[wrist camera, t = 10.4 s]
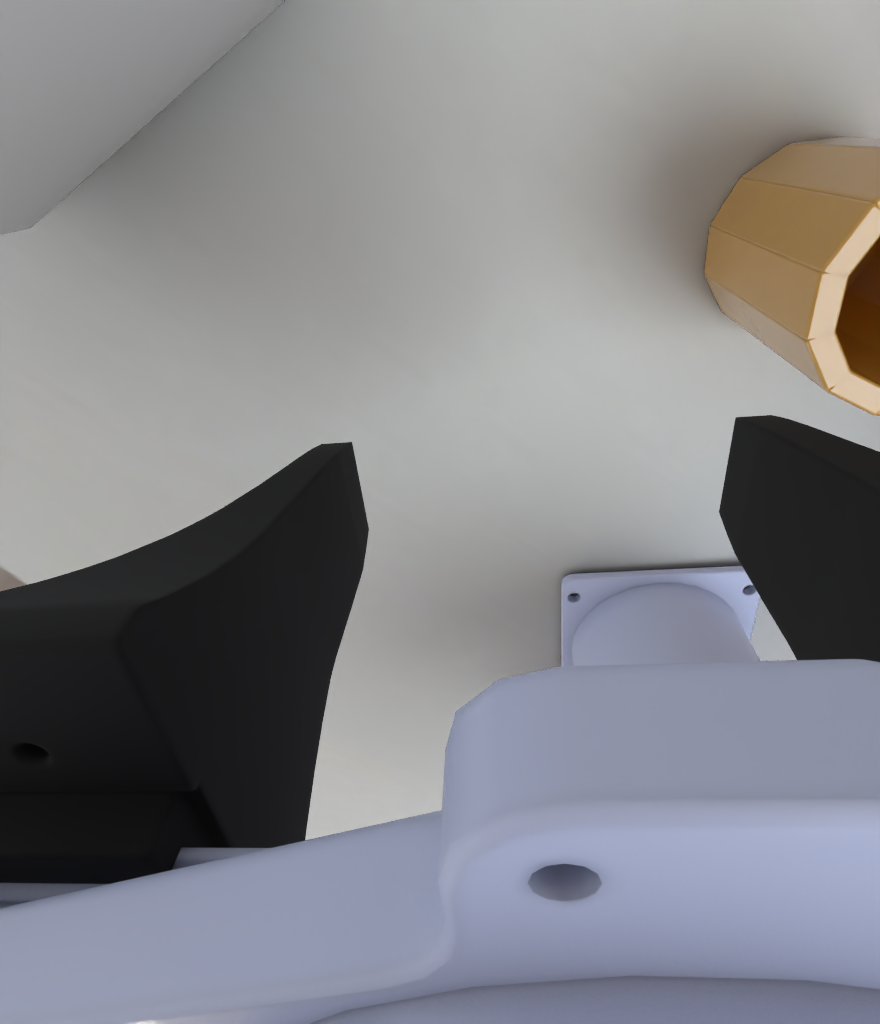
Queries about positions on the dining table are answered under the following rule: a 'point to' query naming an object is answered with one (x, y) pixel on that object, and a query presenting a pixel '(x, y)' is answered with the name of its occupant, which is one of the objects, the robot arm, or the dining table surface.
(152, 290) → the dining table surface
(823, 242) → the cup
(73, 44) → the can
